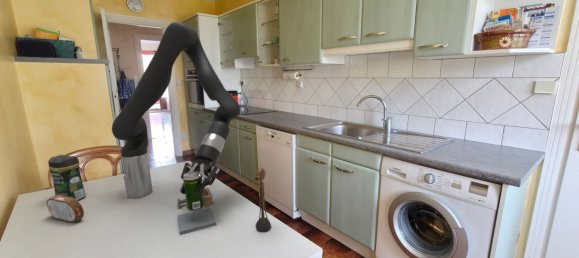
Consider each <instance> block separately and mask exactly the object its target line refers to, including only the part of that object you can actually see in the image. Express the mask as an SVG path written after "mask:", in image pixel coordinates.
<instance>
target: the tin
mask: <svg viewBox="0 0 579 258" xmlns="http://www.w3.org/2000/svg"><path fill="white" fill-rule="evenodd" d="M46 207H47V209H48V212H49V215H51V216H52V217H53V218H54V219H56V220H60V221H63V222H64V221H65V222H69V223H75V222H77V221H79V220H81V219H83V217H84V216H85V211H84V208H83V206H82V204H81V202H80V201H77V200H76V199H74V198H72V197H67V196H62V195H55V194H54V196H51V197H50V198H48V199H47V200H46Z"/></svg>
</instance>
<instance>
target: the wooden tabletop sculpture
mask: <svg viewBox="0 0 579 258" xmlns="http://www.w3.org/2000/svg"><path fill="white" fill-rule="evenodd" d="M266 175H267V174H266V169H265V168H263V167H259V168H257V170H256V172H255V177H254V180H255V181H258V182H259V183H258V186H259V187H258V189H259V190H258V191H259V215H258V220H257V221H256V223H255V230H256V232H258V233H266V232H268V231H271V229H272V224H271V222H270V219H269V218H268V214H267V209H266V202H265V199H266V198H265V184H264V182H263V181H264V180H265V178H266Z"/></svg>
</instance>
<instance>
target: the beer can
mask: <svg viewBox="0 0 579 258" xmlns="http://www.w3.org/2000/svg"><path fill="white" fill-rule="evenodd" d="M200 179H201V177H200V173H199V172H197V171H192V172H188V173H185V174H184V177H183V179H182V181H183V183H184V189H185V194H184V197H185V199H186V203H185V204H186V210H188V211H189V213H190V212H196V211H199V210H202V209H204V207H205V206H204V200H203V193H202V195H200V197H197V196H195V195H194V193H195V191H196V189H197V187H198V185H199V184H200Z"/></svg>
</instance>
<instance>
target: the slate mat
mask: <svg viewBox="0 0 579 258" xmlns="http://www.w3.org/2000/svg"><path fill="white" fill-rule="evenodd" d="M176 217H177V218H176V219H177V222H178V229H179V235H185V234H189V233H192V232H195V231H199V230H203V229H207V228H210V227H214V226H217V220H216V218H215V216H214V213H213V211H212V209H211V207H208V208H202V209H201V210H199V211H196V212H190V211H189V212H186V213H182V214H178V215H177V216H176Z"/></svg>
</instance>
